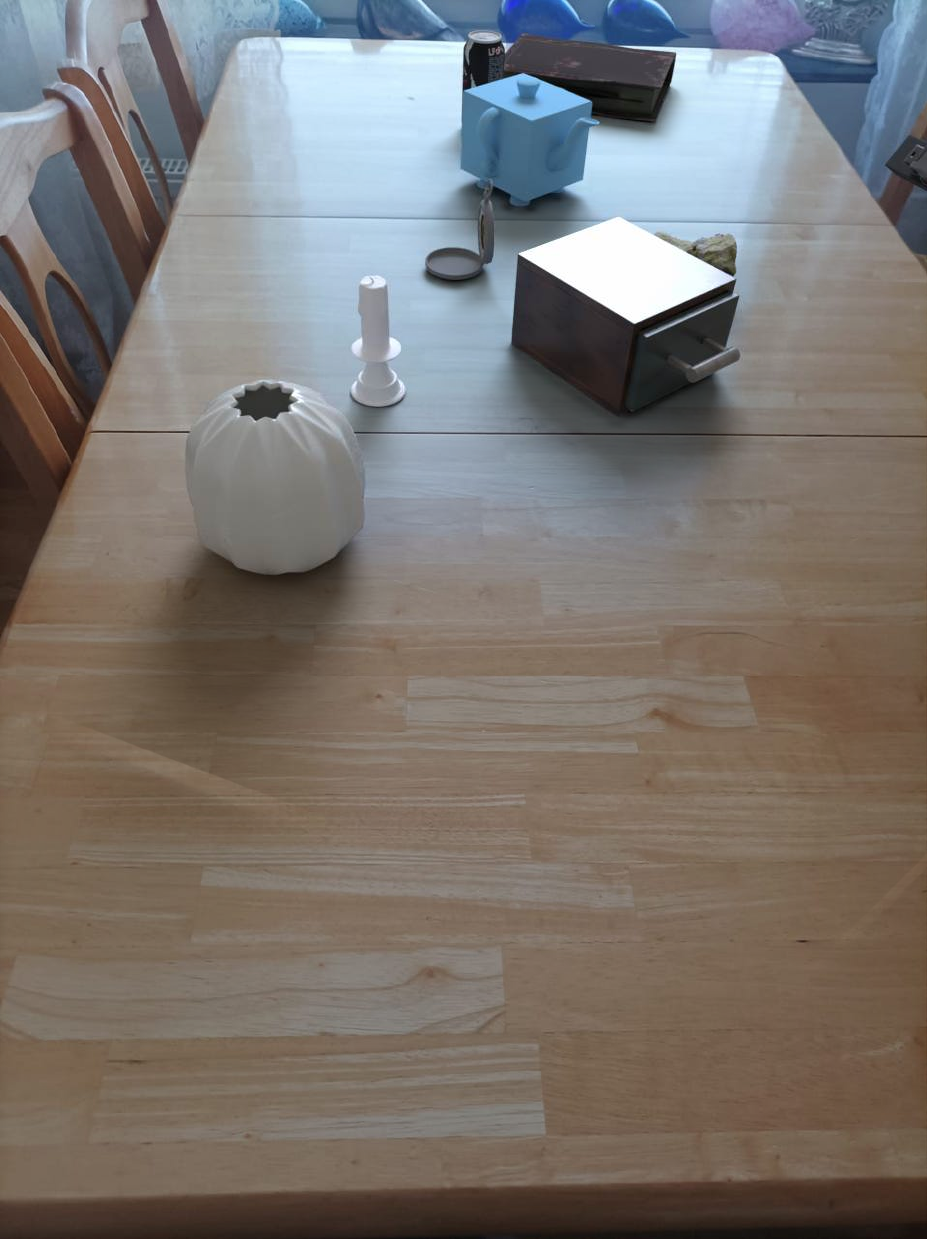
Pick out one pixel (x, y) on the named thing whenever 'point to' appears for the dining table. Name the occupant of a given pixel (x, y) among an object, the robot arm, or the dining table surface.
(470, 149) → the teapot
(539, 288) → the cabinet
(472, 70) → the beverage can
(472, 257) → the pocket watch
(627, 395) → the drawer
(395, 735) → the dining table surface
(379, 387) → the candle
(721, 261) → the rock
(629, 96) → the diary
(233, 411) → the vase
